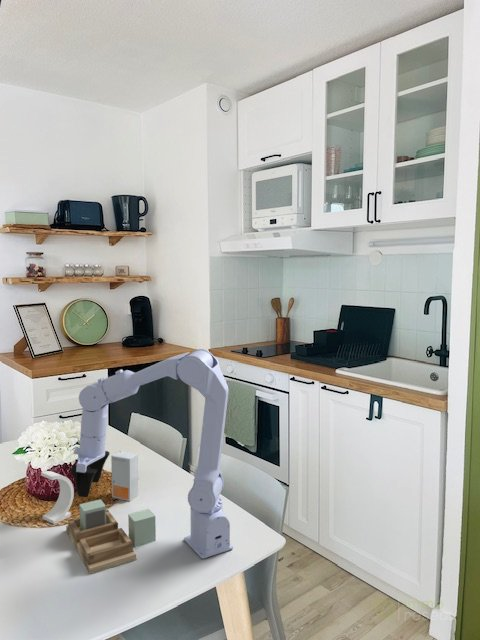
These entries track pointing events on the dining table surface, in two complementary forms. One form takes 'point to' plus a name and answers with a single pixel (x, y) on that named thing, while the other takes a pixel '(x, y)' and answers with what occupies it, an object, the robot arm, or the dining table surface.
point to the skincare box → (124, 475)
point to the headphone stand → (60, 498)
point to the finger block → (142, 527)
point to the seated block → (92, 514)
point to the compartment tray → (101, 544)
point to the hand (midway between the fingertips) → (88, 488)
